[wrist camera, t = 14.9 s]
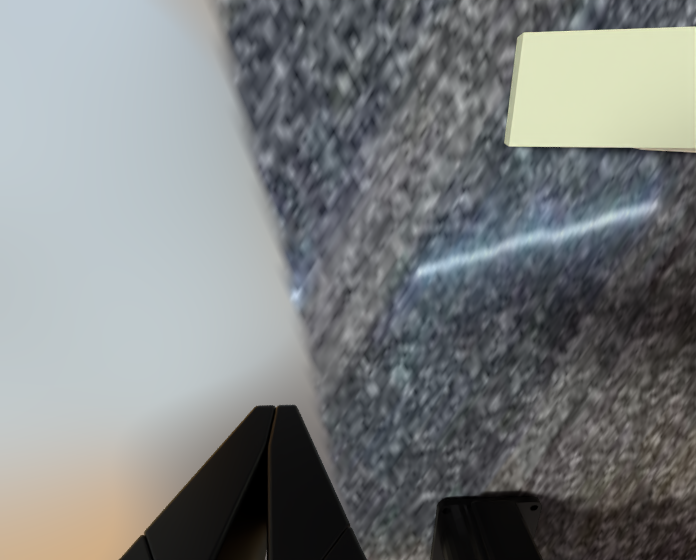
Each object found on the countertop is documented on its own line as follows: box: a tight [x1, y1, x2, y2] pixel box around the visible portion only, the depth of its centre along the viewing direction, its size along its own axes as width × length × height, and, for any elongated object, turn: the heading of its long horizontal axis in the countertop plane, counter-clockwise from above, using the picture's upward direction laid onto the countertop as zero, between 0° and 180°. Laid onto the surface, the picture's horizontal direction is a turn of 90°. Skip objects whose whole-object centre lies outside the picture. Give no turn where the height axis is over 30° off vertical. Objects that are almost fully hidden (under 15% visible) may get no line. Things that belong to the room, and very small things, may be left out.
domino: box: [504, 27, 696, 148], centre depth 17 cm, size 4×1×8 cm
